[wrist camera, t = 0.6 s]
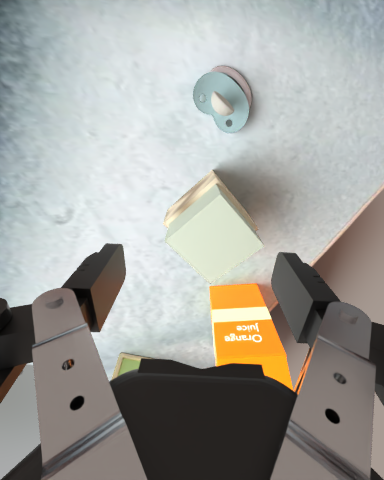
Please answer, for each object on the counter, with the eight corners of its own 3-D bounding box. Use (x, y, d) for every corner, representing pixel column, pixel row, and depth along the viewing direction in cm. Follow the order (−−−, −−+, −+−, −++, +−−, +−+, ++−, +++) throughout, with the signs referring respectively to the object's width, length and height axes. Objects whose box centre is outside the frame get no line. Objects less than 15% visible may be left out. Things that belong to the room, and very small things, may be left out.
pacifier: (217, 53, 26) (186, 100, 28) (226, 30, 20) (186, 91, 22) (261, 98, 28) (229, 139, 30) (279, 89, 22) (239, 140, 24)
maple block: (212, 169, 32) (216, 177, 27) (248, 213, 35) (258, 228, 30) (167, 209, 35) (163, 223, 29) (204, 247, 38) (206, 266, 32)
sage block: (215, 183, 27) (220, 194, 22) (253, 228, 29) (264, 246, 25) (168, 224, 29) (164, 241, 25) (207, 262, 32) (210, 284, 27)
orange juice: (209, 285, 41) (221, 406, 23) (257, 282, 41) (307, 403, 23) (210, 316, 44) (222, 442, 27) (255, 314, 44) (297, 440, 26)
